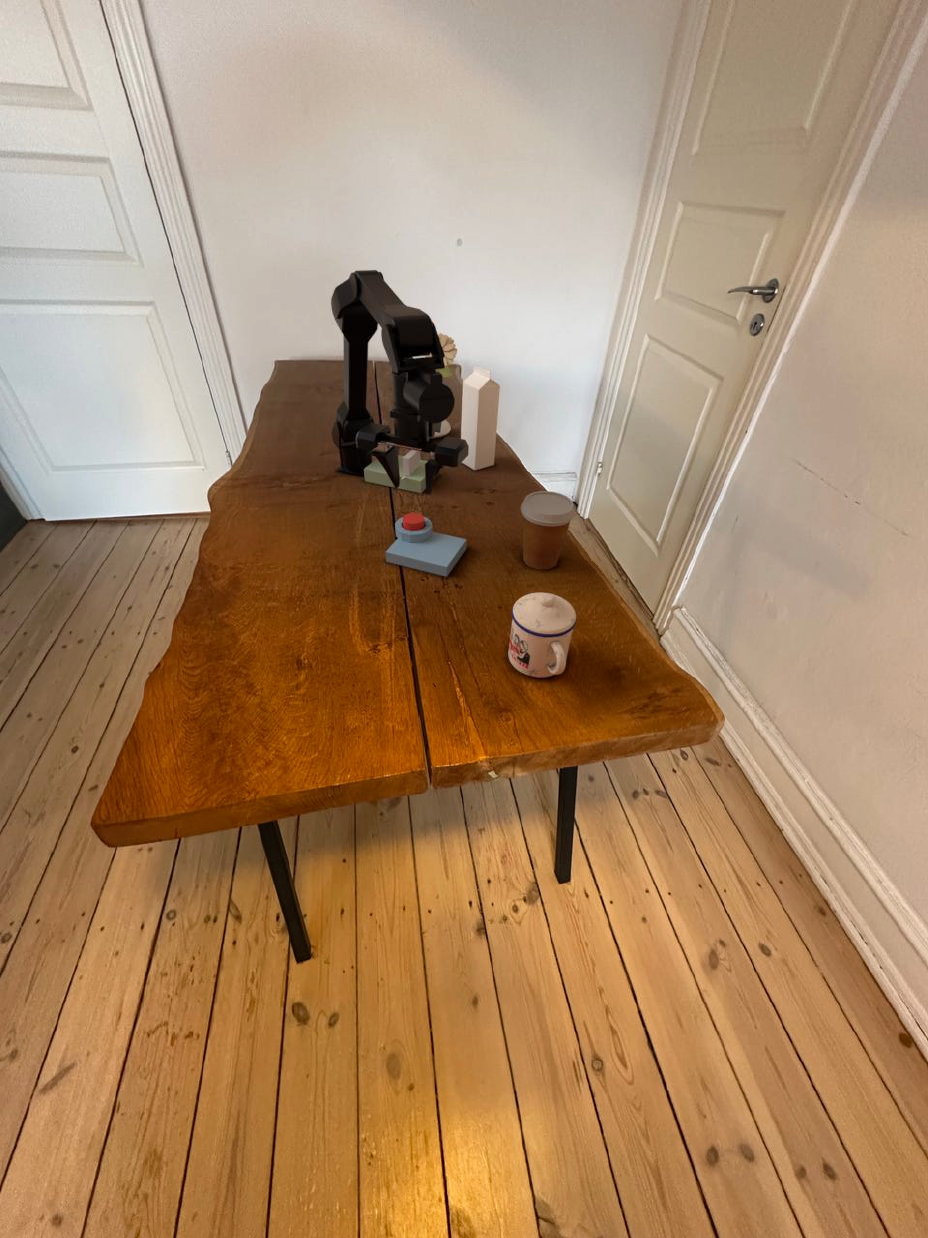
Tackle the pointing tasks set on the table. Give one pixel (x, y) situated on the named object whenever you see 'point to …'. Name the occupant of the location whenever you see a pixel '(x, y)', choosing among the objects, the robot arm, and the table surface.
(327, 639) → the table surface
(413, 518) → the button
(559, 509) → the disposable coffee cup
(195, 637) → the table surface
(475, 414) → the milk
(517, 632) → the teacup with lid
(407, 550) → the button block
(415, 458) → the tap handle
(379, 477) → the panel
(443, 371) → the flower in vase
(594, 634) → the table surface
